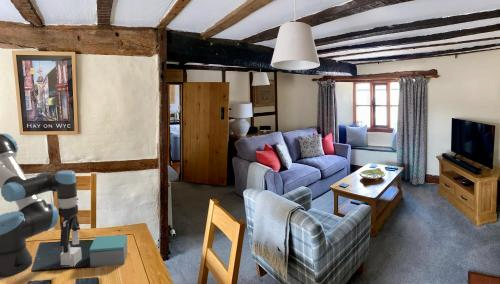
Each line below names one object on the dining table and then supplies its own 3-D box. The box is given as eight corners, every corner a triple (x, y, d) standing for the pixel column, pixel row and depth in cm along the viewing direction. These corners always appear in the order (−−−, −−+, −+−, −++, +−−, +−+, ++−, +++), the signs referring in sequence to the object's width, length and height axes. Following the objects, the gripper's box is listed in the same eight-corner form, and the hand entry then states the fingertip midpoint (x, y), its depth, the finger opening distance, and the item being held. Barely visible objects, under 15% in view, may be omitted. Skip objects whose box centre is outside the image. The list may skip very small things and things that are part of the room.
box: (90, 267, 140) (89, 252, 139) (96, 253, 152) (95, 240, 150) (124, 263, 144) (123, 249, 143) (127, 250, 155) (126, 237, 154)
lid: (89, 251, 139) (89, 249, 139) (95, 238, 151) (95, 236, 150) (123, 249, 142) (123, 247, 142) (126, 236, 154) (126, 234, 154)
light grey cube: (81, 259, 146) (81, 247, 145) (74, 266, 141) (73, 254, 140) (68, 259, 147) (68, 246, 146) (61, 266, 141) (60, 253, 140)
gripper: (69, 215, 128) (73, 264, 132) (84, 196, 152) (87, 237, 155) (48, 217, 126) (52, 266, 130) (67, 197, 150) (70, 239, 154)
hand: (71, 251), depth 143 cm, fingers open, 13 cm apart
